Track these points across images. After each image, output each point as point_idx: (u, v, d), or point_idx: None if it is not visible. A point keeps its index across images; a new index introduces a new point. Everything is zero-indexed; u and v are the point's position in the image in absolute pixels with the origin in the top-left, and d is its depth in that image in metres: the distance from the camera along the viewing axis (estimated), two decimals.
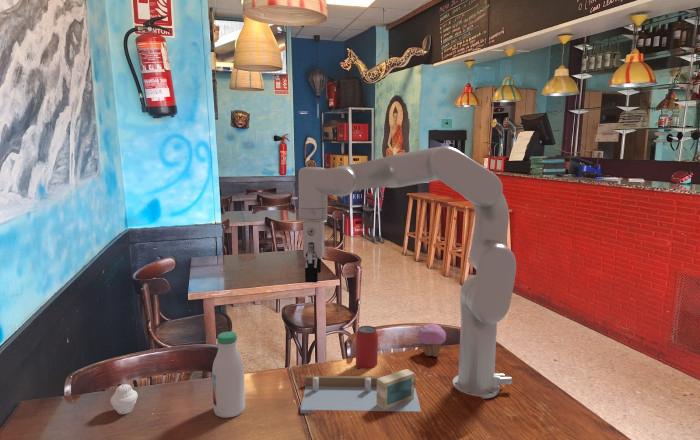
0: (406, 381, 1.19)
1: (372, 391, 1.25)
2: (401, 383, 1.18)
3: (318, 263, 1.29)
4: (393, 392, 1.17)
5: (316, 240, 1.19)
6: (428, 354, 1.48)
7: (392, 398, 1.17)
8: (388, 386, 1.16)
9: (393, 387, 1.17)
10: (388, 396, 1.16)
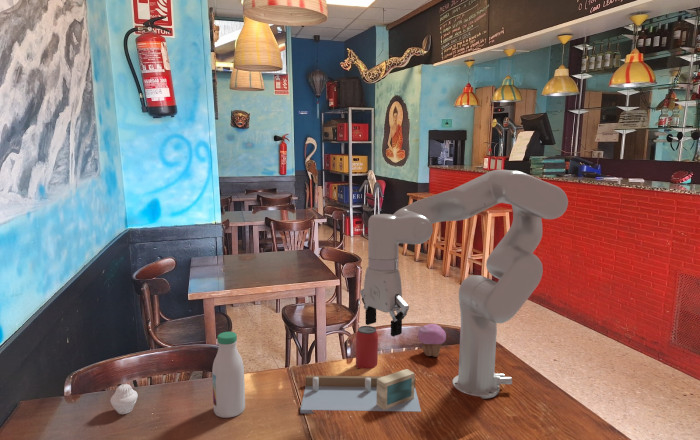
0: (406, 381, 1.19)
1: (372, 391, 1.25)
2: (401, 383, 1.18)
3: None
4: (393, 392, 1.17)
5: None
6: (428, 354, 1.48)
7: (392, 398, 1.17)
8: (388, 386, 1.16)
9: (393, 387, 1.17)
10: (388, 396, 1.16)
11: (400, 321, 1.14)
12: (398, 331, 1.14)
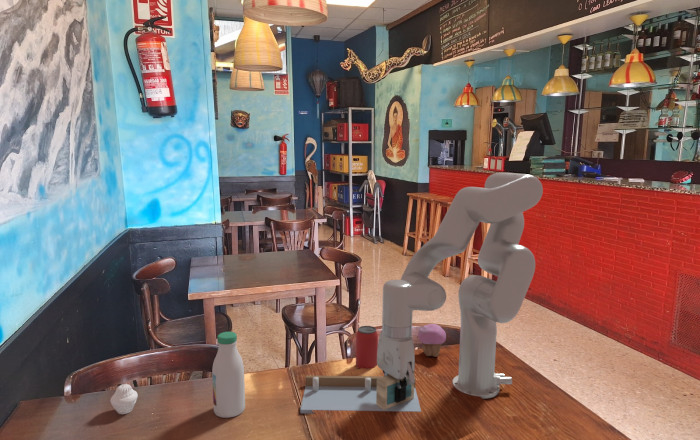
0: None
1: (372, 391, 1.25)
2: None
3: None
4: (393, 392, 1.17)
5: None
6: (428, 354, 1.48)
7: (392, 398, 1.17)
8: (388, 386, 1.16)
9: (393, 387, 1.17)
10: (388, 396, 1.16)
11: (404, 388, 1.17)
12: (402, 398, 1.17)
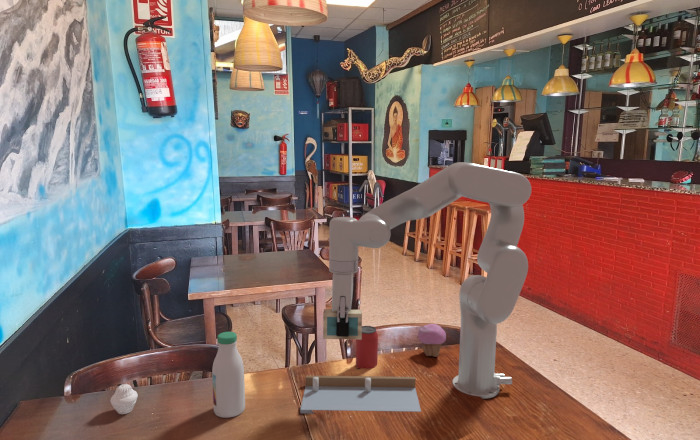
0: (351, 318, 1.20)
1: (372, 391, 1.25)
2: None
3: None
4: (334, 325, 1.21)
5: None
6: (428, 354, 1.48)
7: (333, 330, 1.21)
8: (328, 317, 1.21)
9: (334, 320, 1.21)
10: (328, 327, 1.21)
11: (344, 324, 1.19)
12: (341, 332, 1.20)
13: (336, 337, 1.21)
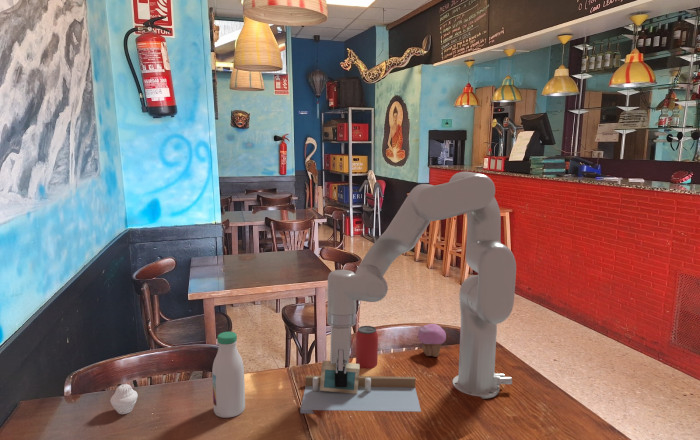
0: (349, 373, 1.23)
1: (372, 391, 1.25)
2: None
3: None
4: (332, 378, 1.23)
5: None
6: (428, 354, 1.48)
7: (330, 383, 1.23)
8: (326, 370, 1.23)
9: (332, 373, 1.23)
10: (325, 379, 1.23)
11: (342, 375, 1.22)
12: (340, 383, 1.22)
13: (332, 390, 1.24)
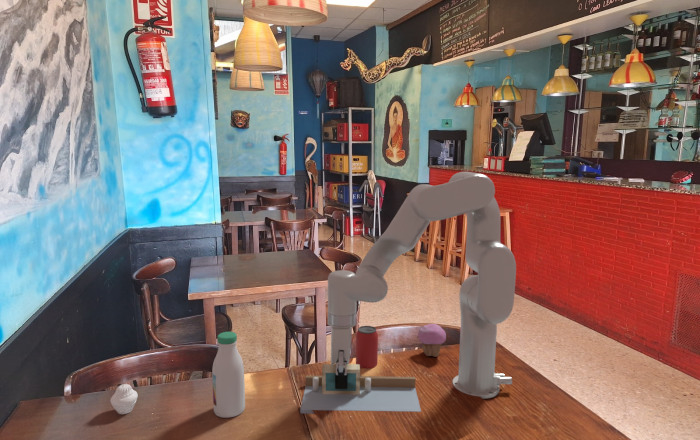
0: (349, 374, 1.23)
1: (372, 391, 1.25)
2: None
3: None
4: (333, 380, 1.23)
5: None
6: (428, 354, 1.48)
7: (332, 386, 1.23)
8: (327, 373, 1.23)
9: (333, 376, 1.23)
10: (327, 382, 1.23)
11: (343, 376, 1.18)
12: (340, 385, 1.19)
13: (335, 392, 1.23)
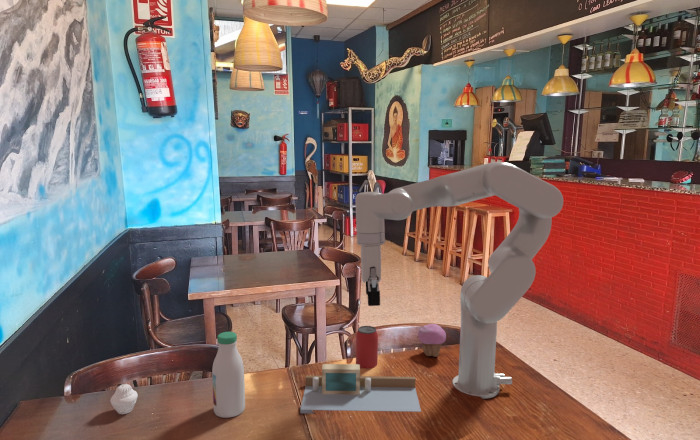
0: (349, 374, 1.23)
1: (372, 391, 1.25)
2: (343, 375, 1.23)
3: None
4: (333, 380, 1.23)
5: None
6: (428, 354, 1.48)
7: (332, 386, 1.23)
8: (327, 373, 1.23)
9: (333, 376, 1.23)
10: (327, 382, 1.23)
11: (375, 292, 1.21)
12: (373, 302, 1.21)
13: (335, 392, 1.23)
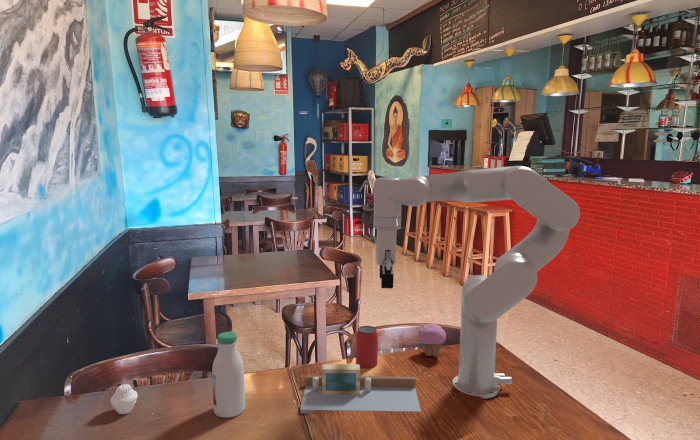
0: (349, 374, 1.23)
1: (372, 391, 1.25)
2: (343, 375, 1.23)
3: None
4: (333, 380, 1.23)
5: None
6: (428, 354, 1.48)
7: (332, 386, 1.23)
8: (327, 373, 1.23)
9: (333, 376, 1.23)
10: (327, 382, 1.23)
11: (389, 275, 1.24)
12: (386, 284, 1.25)
13: (335, 392, 1.23)
